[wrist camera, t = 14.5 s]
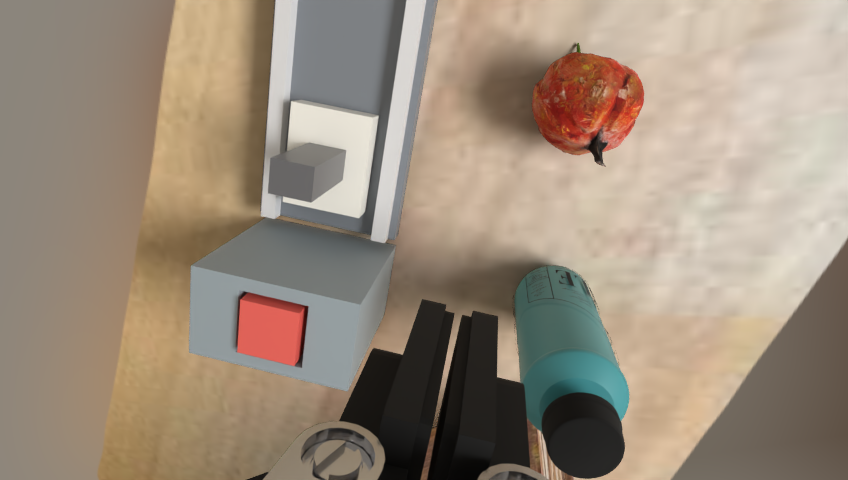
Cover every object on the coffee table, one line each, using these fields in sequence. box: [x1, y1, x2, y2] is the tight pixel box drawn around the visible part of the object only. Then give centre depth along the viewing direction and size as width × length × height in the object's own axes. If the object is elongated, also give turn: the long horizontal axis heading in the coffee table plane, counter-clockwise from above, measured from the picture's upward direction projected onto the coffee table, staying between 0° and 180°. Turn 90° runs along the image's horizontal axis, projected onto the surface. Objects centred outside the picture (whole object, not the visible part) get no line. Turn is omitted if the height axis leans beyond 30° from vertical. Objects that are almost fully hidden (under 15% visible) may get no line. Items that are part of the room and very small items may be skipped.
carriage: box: [268, 100, 379, 218], centre depth 37 cm, size 8×6×9 cm
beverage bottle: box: [513, 266, 629, 479], centre depth 35 cm, size 6×7×20 cm
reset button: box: [237, 292, 309, 366], centre depth 37 cm, size 4×4×4 cm
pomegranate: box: [532, 43, 644, 167], centre depth 36 cm, size 7×7×10 cm
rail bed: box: [260, 0, 438, 243], centre depth 40 cm, size 22×12×3 cm, turn 170°
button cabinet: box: [189, 217, 396, 391], centre depth 41 cm, size 7×12×12 cm, turn 80°
